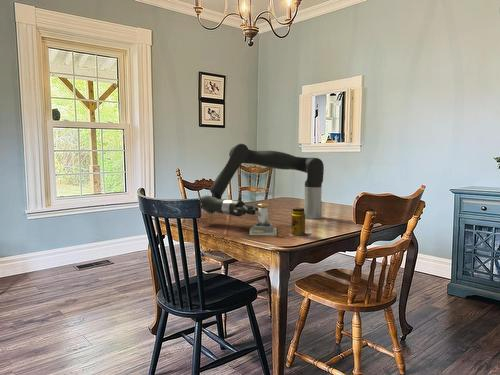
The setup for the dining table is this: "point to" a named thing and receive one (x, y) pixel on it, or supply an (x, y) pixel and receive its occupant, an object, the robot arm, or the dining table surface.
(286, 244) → the dining table surface
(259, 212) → the glass storage jar
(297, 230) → the condiment
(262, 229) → the dock
